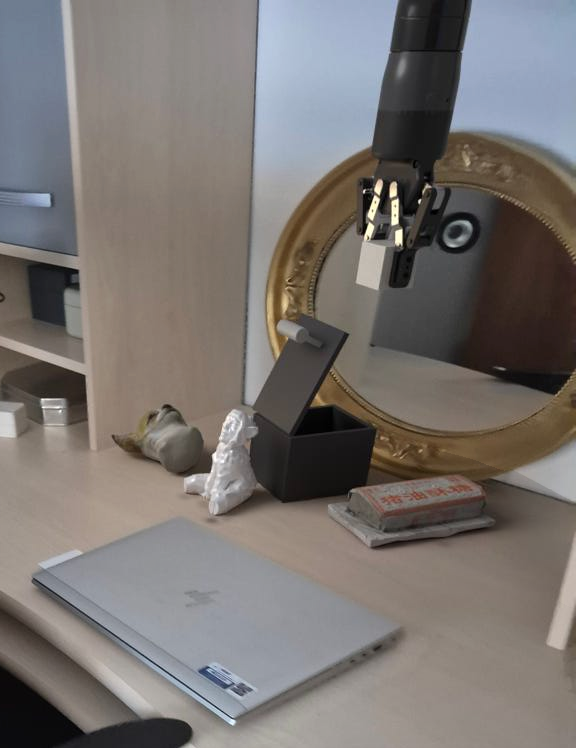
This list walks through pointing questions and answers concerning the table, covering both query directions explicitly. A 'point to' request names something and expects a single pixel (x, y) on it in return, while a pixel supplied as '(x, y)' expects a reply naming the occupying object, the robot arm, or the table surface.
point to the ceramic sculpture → (164, 439)
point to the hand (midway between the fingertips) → (384, 282)
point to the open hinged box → (313, 454)
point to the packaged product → (413, 509)
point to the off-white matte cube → (379, 264)
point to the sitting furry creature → (228, 467)
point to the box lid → (299, 371)
